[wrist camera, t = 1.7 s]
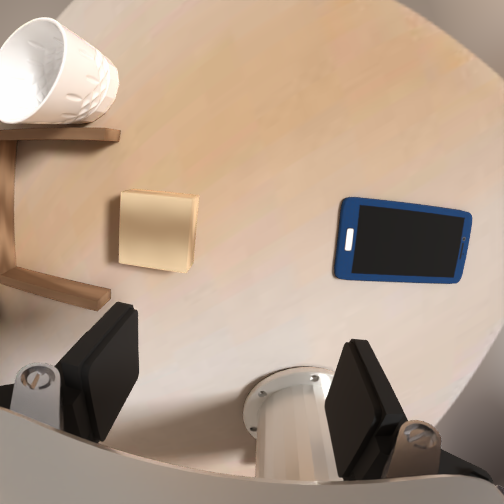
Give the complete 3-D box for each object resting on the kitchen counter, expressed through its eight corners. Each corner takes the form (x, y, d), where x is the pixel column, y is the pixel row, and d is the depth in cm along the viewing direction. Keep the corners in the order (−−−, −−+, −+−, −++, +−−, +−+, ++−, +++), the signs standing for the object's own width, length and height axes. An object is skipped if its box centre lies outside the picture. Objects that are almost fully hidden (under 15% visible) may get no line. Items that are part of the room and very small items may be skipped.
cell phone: (340, 195, 27) (342, 196, 26) (470, 211, 26) (474, 212, 26) (331, 276, 29) (333, 279, 28) (457, 281, 28) (461, 284, 28)
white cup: (54, 134, 26) (-17, 132, 16) (59, 60, 24) (-5, 36, 14) (123, 124, 25) (60, 112, 16) (128, 44, 23) (74, 3, 14)
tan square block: (194, 262, 29) (186, 273, 26) (131, 253, 29) (118, 263, 26) (199, 194, 27) (192, 198, 24) (134, 188, 27) (120, 191, 24)
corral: (110, 298, 30) (97, 311, 27) (11, 272, 30) (-5, 281, 27) (120, 130, 26) (105, 127, 23) (12, 131, 25) (-6, 130, 23)
